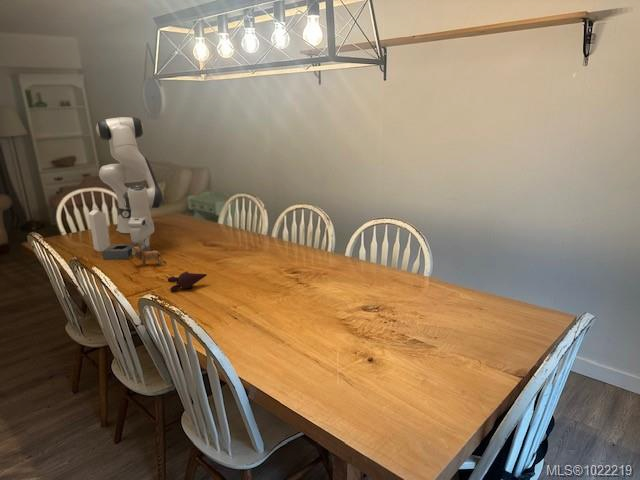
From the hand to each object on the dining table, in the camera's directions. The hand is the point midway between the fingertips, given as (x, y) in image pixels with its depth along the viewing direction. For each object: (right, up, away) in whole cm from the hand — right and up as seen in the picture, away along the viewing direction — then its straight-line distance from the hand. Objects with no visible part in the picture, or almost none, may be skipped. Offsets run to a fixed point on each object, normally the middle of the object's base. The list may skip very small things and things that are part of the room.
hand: (145, 246), depth 223 cm
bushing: (0, -3, +1) cm, 3 cm away
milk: (-25, -2, +8) cm, 26 cm away
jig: (-11, -4, -2) cm, 12 cm away
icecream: (+34, -16, -44) cm, 57 cm away
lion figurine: (+8, -8, -17) cm, 20 cm away
